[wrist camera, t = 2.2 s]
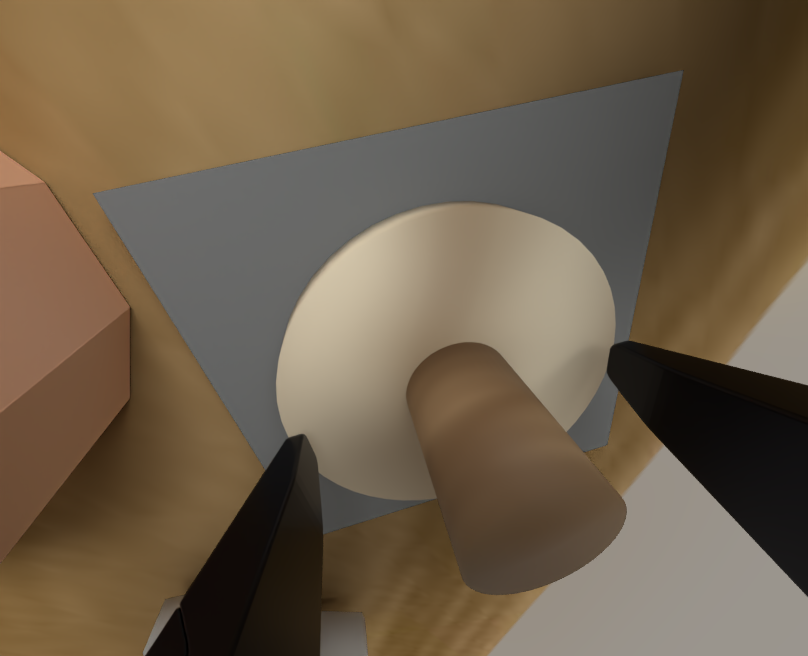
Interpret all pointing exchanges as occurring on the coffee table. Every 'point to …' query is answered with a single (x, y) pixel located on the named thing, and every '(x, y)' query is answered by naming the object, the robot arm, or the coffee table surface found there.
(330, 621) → the grey toy figurine
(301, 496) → the robot arm
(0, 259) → the bowl
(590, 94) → the mat
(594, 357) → the lid
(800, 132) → the coffee table surface
